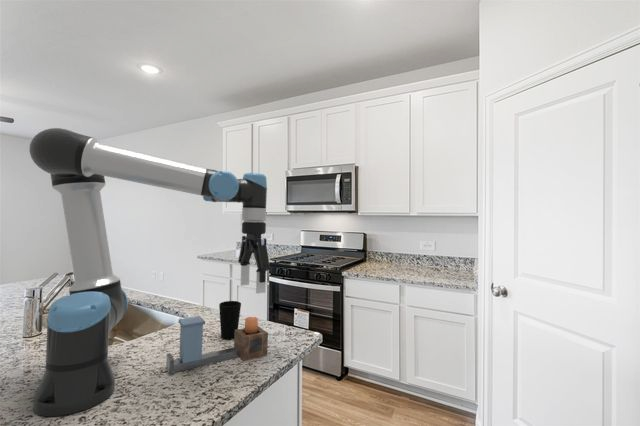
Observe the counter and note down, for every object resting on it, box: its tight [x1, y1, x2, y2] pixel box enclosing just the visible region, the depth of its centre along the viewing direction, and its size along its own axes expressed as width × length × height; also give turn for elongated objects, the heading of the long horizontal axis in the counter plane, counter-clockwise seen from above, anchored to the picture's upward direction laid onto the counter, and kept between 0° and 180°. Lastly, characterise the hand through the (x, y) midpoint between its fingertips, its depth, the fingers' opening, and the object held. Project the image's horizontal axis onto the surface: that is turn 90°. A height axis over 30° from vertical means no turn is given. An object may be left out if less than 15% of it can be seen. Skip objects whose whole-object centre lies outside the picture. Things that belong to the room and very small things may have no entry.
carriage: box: [178, 315, 206, 363], centre depth 91 cm, size 6×6×11 cm
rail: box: [165, 346, 240, 376], centre depth 93 cm, size 21×5×4 cm, turn 126°
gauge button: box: [244, 316, 259, 334], centre depth 100 cm, size 4×4×4 cm
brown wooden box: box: [233, 325, 269, 362], centre depth 100 cm, size 8×8×7 cm
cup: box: [218, 300, 242, 341], centre depth 113 cm, size 8×8×12 cm
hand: (252, 288), depth 100 cm, fingers open, 12 cm apart
